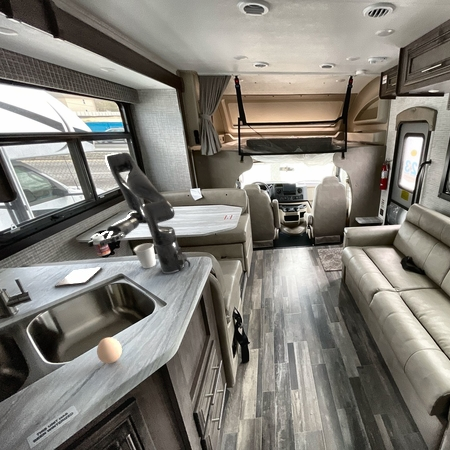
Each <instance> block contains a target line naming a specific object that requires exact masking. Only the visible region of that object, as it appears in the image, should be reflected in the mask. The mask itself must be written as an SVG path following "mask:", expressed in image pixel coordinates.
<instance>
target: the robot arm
mask: <svg viewBox="0 0 450 450" xmlns="http://www.w3.org/2000/svg"><path fill="white" fill-rule="evenodd" d="M105 163H106V165H107V167H108V169H109V171H110V173H111V175H112V177H113V179H114V181H115V182H116V184H117V186H118V188H119V190H120V191H121V194H122V195H123V197H124V200H125V203H126V205H127V207H128V208H129V210H131V212H130V213H129V214H128V215H127V216H126V217H125V218H123V219H121V220H118V221H116V222H115V223H113V224H112V225H109V226H108V227H107V229H106V231H104V232H102V233H101V234H100V233H99V232H97V233H94V235H92V236H91V237H90V241H88V242H87V243H86V244H87V246H88V247H89V248H92V247H94V245H93V240H92V238H93V237H96V236H101V235H102V236H103V237H104V240H102V241H101V242H100V245H101V246H105V245H106V244H108V245H109V244H111V243H112V242H113V243H116V242H118V241H121V240H122V239H125V238H126V237H127V235H129V234H130V233H132V231H134V230H135V229H137V228H138V227H139V226H140V225H141V224H143V225H147V227H148V230H149V232H150V235H151V239H152V242H153V245H154V246H153V247H154V250H155V252H156V255H157V258H158V261H159V265H160V269H161V272H162V274H166V275H169V274H175V273H177V272H181V271H182V270H183V268H184V267H185V265H186V262H187V264H188V265H187V267H188V268H191V262H190V260H189V259H188V258H187V253H183V250H182V248H181V246H179V243H178V239H177V234H176V231H175V228H174V227H173V226H167V225H164V226H163V225H159V224H160V223H163V222H168V221H169V220H172V219H173V218H174V217H175V216H176V215H175V209H174V207H173V206H172V204H171V203H170V201H169V200H168V199H167V198H166V197H165V196H164V195H162V193H160V191H158V189H157V188H156V187H155V186H154V184H153V183H152V182H151V181H150V179H149V178H148V177H147V175H146V174H145V173H144V172H143V171H142V170H141V169H140V167H139V166H138V164H137V162H136V161H135V159H134V158H133V156H132V155H131V154H130V153H128V152H118V153H117V152H116V153H111V154H107V155H105ZM127 172H128V174H127V176H126V179H124V178H123V176H122V175H121V174H122V173H127ZM143 200H144V201H147V203H144V202H143Z"/></svg>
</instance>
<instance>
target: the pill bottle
mask: <svg viewBox="0 0 450 450" xmlns="http://www.w3.org/2000/svg"><path fill="white" fill-rule="evenodd" d="M92 240H93V245H94V246H93V247H94V249H95V252H96V255H97V256H98V257H102V256H106V255H109V254H110V253H111V249H110V247H109V243H108V244H106V245H105V246H101V245H100V242H101V241H102V240H104V237H103V236H102V235H101V236H96V237H93V238H92Z"/></svg>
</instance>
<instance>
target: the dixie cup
mask: <svg viewBox="0 0 450 450" xmlns="http://www.w3.org/2000/svg"><path fill="white" fill-rule="evenodd" d="M133 252H134V253H135V255H136V257H137V259H138V260H139V262H140V265H141V267H142V268H143V269H150V268H152V267H154V266H156V265H157V261H156V255H155V246H154V243H151V242H149V243H147V242H146V243H142V244H139V245H136V246H135V247H133Z"/></svg>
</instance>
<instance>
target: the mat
mask: <svg viewBox="0 0 450 450" xmlns="http://www.w3.org/2000/svg"><path fill="white" fill-rule="evenodd" d="M102 269H103V268H102V267H93V268H83V269H82V268H81V269H74V270H72V271H70V273H69V274H67V275H66V276H65V277H63V278H62V279H61V280H60V281H58V282H56V284H54V285H53V286H54V288H61V287H63V288H64V287H70V286H71V287H72V286H80V285H86V284H87V283H88V282H90V281H91V280H92V279H93V278H94V277H95V276H96V275H97V274H99V272H101V271H102Z"/></svg>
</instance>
